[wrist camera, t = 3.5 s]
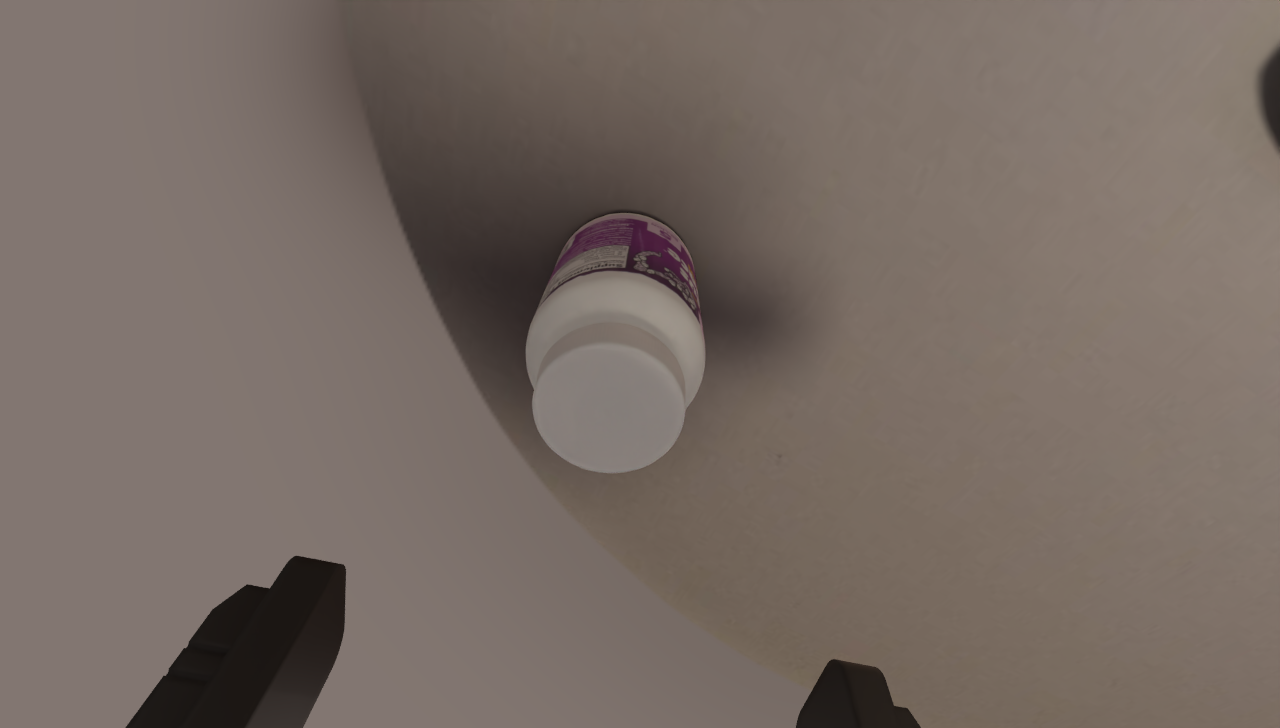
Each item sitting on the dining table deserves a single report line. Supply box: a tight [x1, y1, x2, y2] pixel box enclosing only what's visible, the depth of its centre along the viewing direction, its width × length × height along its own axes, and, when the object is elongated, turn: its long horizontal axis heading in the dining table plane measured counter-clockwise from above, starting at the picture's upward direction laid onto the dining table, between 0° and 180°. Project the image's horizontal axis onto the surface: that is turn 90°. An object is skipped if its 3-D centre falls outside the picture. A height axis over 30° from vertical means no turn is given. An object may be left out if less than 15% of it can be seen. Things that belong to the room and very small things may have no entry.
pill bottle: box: [526, 213, 705, 473], centre depth 21 cm, size 5×5×10 cm
